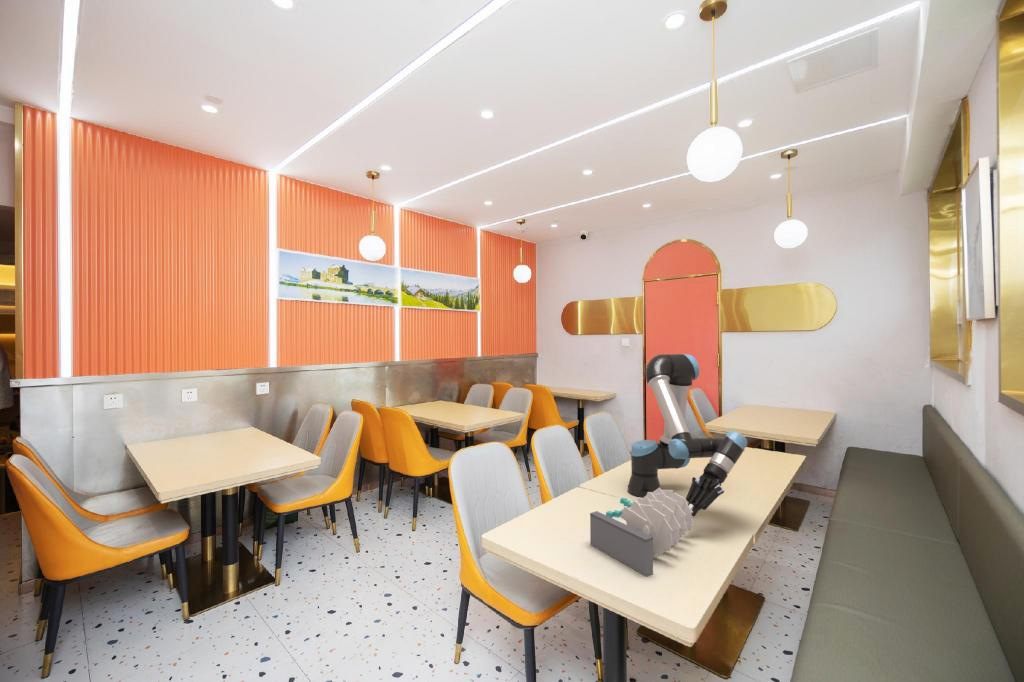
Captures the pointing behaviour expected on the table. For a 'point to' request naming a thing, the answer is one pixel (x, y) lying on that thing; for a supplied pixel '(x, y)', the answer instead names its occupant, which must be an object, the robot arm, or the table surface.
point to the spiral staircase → (660, 518)
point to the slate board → (622, 542)
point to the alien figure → (618, 513)
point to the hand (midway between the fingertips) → (684, 521)
